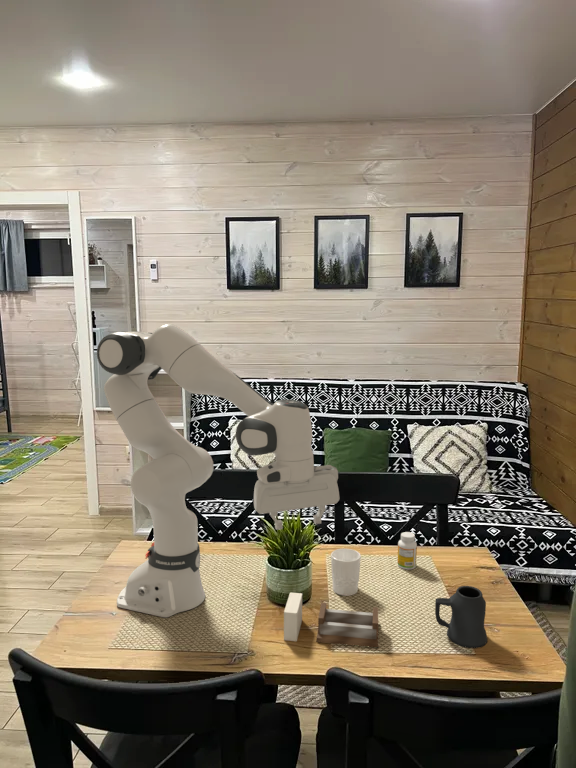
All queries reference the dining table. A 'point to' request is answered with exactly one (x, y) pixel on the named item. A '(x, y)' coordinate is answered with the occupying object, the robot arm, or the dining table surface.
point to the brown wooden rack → (348, 627)
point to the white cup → (345, 571)
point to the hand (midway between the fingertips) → (298, 526)
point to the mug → (465, 617)
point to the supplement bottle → (407, 551)
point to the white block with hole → (293, 616)
